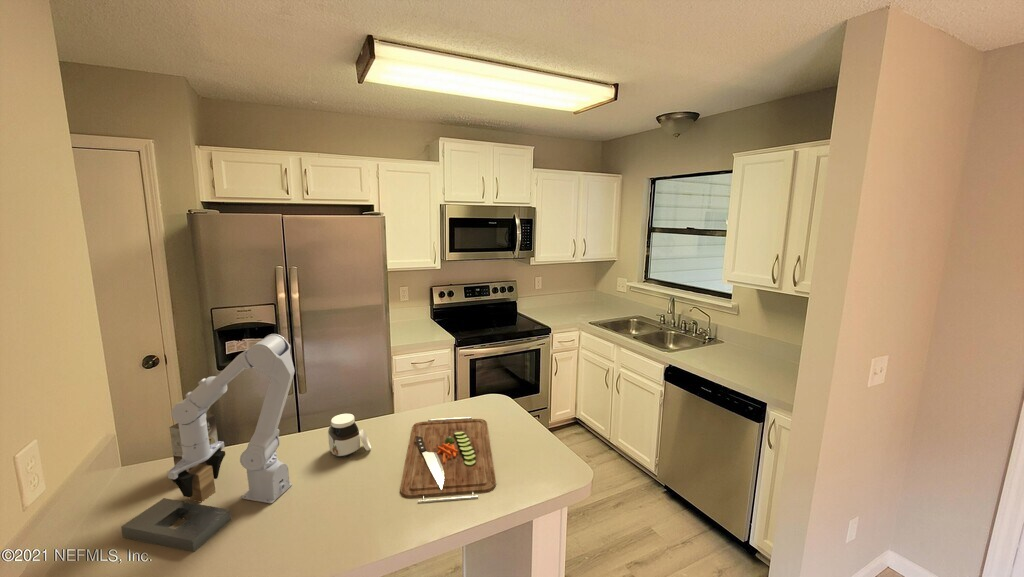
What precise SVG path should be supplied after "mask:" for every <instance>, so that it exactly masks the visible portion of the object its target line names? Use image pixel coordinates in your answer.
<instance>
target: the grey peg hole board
mask: <svg viewBox="0 0 1024 577" xmlns="http://www.w3.org/2000/svg"><path fill="white" fill-rule="evenodd" d="M183 518H184V519H183ZM180 519H183V520H185V521H184V522H182V524H180V525H178V526H177V527H176V528H171V527H170V526H172V525H173V524H174V523H176V522H177V521H179V520H180ZM230 522H232V515H231V509H229V508H228V509H227V508H222V507H216V506H213V505H212V506H210V505H206V504H199V503H195V502H189V501H182V500H177V499H171V498H164V497H163V498H162V499H160V500H159V501H157V502H155V503H154V504H152V505H151V506H150V507H148V508H147V509H145V510H143V511H142V512H141V513H140V514H139V513H138V514H137V515H136V516H135V517H133V518H132V519H130V520H129V521H127V522H126V523H124V524H123V525H121V527H120V530H121V533H122V538H123V539H126V540H127V539H128V540H134V541H138V542H142V543H148V544H152V545H153V544H154V545H158V546H163V547H166V548H167V547H168V548H173V549H178V550H184V551H188V552H193V553H194V552H196V551H197V550H198V549H200V548H201V547H202V546H204V544H205V543H206V542H208V541H209V540H210V539H211V538H213V537H214V536H215V535H216V534H217V533H218V532H220V530H222V529H223V528H224V527H226V526H227V524H229V523H230Z"/></svg>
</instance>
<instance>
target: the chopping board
mask: <svg viewBox="0 0 1024 577" xmlns="http://www.w3.org/2000/svg"><path fill="white" fill-rule="evenodd" d="M489 434H490V433H489V427H488V422H487V421H486V420H485V419H483V418H472V416H468V417H467V416H466V417H445V418H432V419H431V418H429V419H428V420H427V421H419V422H415V423H414V424H413V425H412V427H411V431H410V438H409V441H408V447H407V452H406V458H405V462H404V467H403V472H402V478H401V483H400V486H399V487H400V488H399V489H400V495H402V497H405V498H410V499H412V498H422V499H418V500H417V504H424V503H425V504H426V503H429V504H430V503H440V502H451V501H453V502H454V501H463V500H464V501H465V500H477V499H479V495H475V494H476V493H477V494H478V493H486V492H490V491H492V490H494V489H495V487H496V485H497V480H496V472H495V467H494V459H493V454H492V453H493V452H492V445H491V440H490V435H489ZM462 494H464V495H465V494H471V495H469V496H455V497H444V498H433V499H432V498H430V499H425V497H435V496H436V497H437V496H448V495H449V496H451V495H462Z"/></svg>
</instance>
